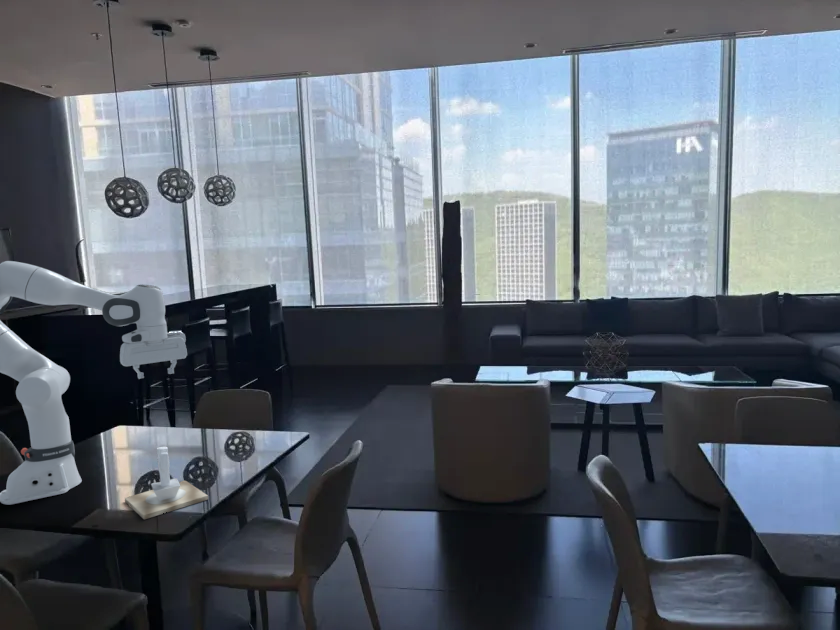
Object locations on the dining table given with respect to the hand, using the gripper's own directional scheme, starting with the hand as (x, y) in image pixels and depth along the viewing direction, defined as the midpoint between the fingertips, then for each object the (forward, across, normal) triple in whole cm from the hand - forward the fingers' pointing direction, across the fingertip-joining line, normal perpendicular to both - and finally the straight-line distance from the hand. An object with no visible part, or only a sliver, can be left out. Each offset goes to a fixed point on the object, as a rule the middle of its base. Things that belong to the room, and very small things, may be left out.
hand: (156, 375), depth 194 cm
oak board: (+34, +7, +23) cm, 41 cm away
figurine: (+32, +7, +24) cm, 41 cm away
